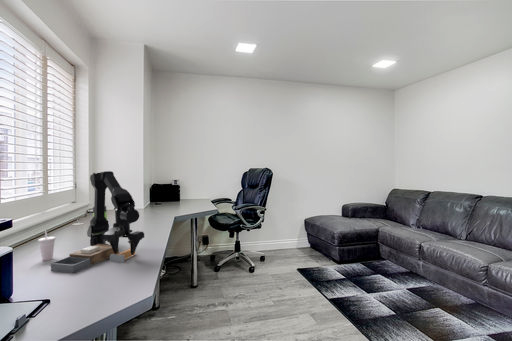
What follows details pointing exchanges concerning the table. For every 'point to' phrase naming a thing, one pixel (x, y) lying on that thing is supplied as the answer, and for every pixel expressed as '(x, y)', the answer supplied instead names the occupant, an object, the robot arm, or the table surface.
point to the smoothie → (47, 246)
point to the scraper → (121, 256)
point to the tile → (90, 249)
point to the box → (70, 264)
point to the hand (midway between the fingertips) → (124, 254)
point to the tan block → (96, 253)
